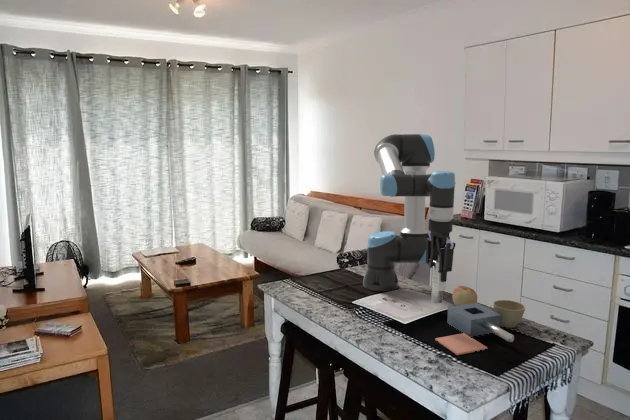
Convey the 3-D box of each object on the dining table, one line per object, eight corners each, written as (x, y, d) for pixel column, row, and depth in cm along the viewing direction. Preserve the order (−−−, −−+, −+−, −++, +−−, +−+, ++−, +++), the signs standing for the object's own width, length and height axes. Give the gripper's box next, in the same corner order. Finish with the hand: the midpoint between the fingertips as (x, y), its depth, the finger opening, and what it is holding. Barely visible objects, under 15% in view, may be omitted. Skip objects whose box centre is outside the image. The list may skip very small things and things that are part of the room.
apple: (453, 302, 179) (454, 282, 178) (477, 306, 176) (479, 286, 174) (450, 310, 172) (451, 289, 170) (475, 314, 168) (476, 293, 167)
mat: (435, 340, 146) (435, 338, 146) (463, 334, 150) (463, 333, 150) (457, 355, 136) (457, 353, 136) (487, 349, 140) (487, 347, 140)
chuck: (447, 323, 159) (447, 307, 158) (475, 318, 163) (476, 302, 162) (494, 352, 138) (495, 333, 137) (525, 346, 142) (527, 327, 141)
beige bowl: (526, 331, 152) (528, 311, 151) (495, 329, 154) (496, 309, 153) (520, 320, 162) (521, 300, 161) (490, 318, 164) (491, 298, 163)
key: (424, 300, 155) (426, 260, 152) (442, 298, 157) (444, 258, 155) (430, 304, 151) (432, 263, 149) (448, 301, 154) (450, 261, 151)
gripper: (416, 215, 156) (413, 281, 160) (446, 225, 140) (443, 298, 145) (435, 213, 158) (432, 279, 162) (467, 223, 143) (462, 295, 147)
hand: (437, 288), depth 153 cm, fingers closed on key, 4 cm apart
